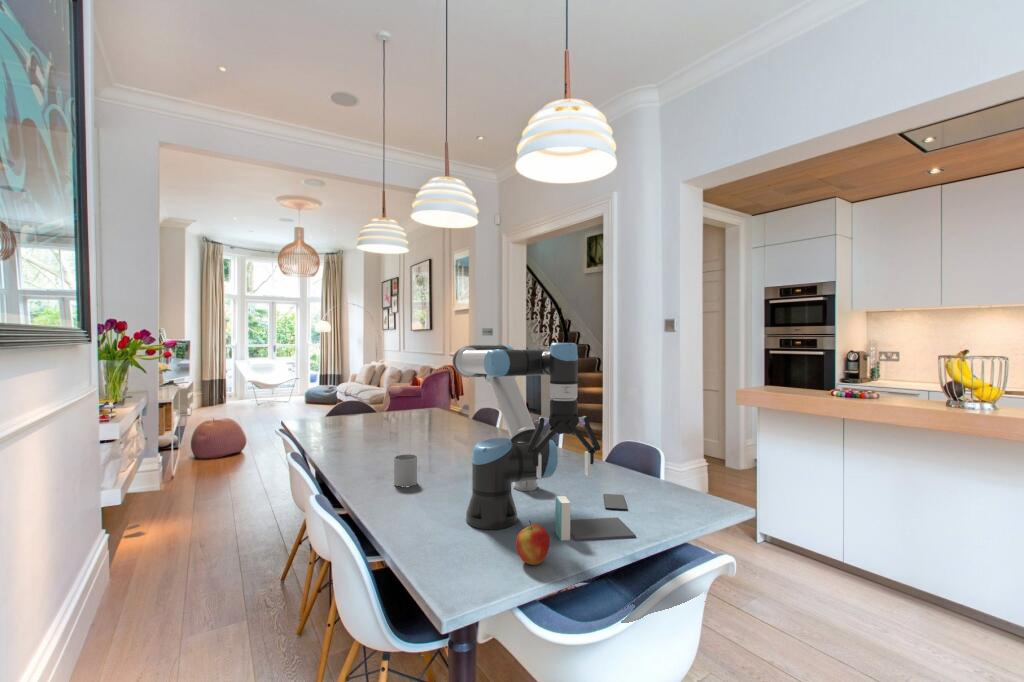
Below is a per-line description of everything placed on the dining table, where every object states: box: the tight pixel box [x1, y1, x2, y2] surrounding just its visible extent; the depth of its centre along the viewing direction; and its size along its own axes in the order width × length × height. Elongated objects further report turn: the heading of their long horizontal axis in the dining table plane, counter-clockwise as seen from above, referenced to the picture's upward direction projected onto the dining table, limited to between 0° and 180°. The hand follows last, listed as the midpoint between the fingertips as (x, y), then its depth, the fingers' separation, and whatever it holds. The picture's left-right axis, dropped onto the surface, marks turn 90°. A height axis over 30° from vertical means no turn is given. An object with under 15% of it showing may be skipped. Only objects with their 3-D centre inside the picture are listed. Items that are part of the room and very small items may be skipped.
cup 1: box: [393, 453, 418, 488], centre depth 174 cm, size 8×8×10 cm
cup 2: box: [512, 479, 538, 492], centre depth 171 cm, size 10×9×12 cm
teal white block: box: [554, 495, 571, 541], centre depth 128 cm, size 3×6×10 cm, turn 9°
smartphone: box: [603, 493, 628, 512], centre depth 155 cm, size 7×1×15 cm
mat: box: [570, 516, 637, 542], centre depth 133 cm, size 17×13×1 cm
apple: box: [515, 519, 551, 566], centre depth 113 cm, size 8×8×10 cm
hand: (563, 477), depth 128 cm, fingers open, 13 cm apart
